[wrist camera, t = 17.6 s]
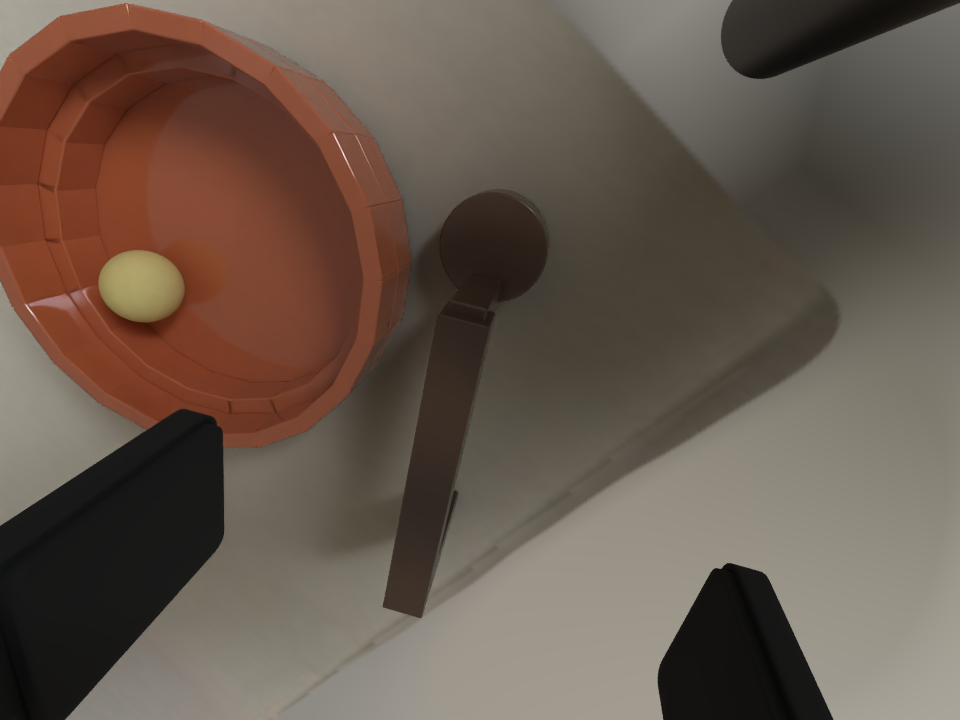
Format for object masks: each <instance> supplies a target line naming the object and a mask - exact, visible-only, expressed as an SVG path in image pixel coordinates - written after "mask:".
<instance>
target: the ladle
mask: <svg viewBox="0 0 960 720" xmlns="http://www.w3.org/2000/svg"><path fill="white" fill-rule="evenodd" d="M548 245H549V236H548V230H547V226H546V223H545V220H544V218H543V216H542V214H541V213H540V211H539V210H538V208H537V207H536V206H535V205H534V204H533V203H532V202H531V201H530V200H529V199H527V198H526V197H524V196H522V195H520V194H518V193H516V192H513V191H509V190H498V189H496V190H489V191H485V192H482V193H479V194H477V195H474V196H472V197H469V198H468V199H466V200H464V201H463V202H462V203H460V204H459V205H458V206H457V207H456V208H455V209H454V210H453V211H452V212H451V214H450V215H449V216H448V218H447V220H446V222H445V224H444V226H443V229H442V232H441V236H440V257H441V261H442V265H443V267H444V269H445V272H446V273H447V275H448V277H449V278H450V280H451V281H452V282H453V284H454V285H455V286H456V287H457V288H458V289H459V290H458V291H457V293H456V294H455V295H454V296H453V298H452V299H451V300H450V301H449V302H448V303H447V304H446V305H445V307H444V308H443V309H442V310H441V312H440V313H439V314H438V317H437V322H436V327H435V333H434V338H433V343H432V348H431V354H430V359H429V364H428V370H427V375H426V380H425V385H424V391H423V396H422V401H421V407H420V412H419V417H418V423H417V428H416V433H415V438H414V444H413V449H412V454H411V460H410V465H409V470H408V475H407V481H406V486H405V491H404V497H403V502H402V507H401V513H400V518H399V523H398V528H397V534H396V539H395V544H394V550H393V555H392V560H391V565H390V571H389V576H388V581H387V587H386V592H385V597H384V603H383V607H384V608H387V609H390V610H394V611H397V612H401V613H404V614H408V615H411V616H415V617H418V618H421V617H422V615H423V612H424V608H425V605H426V602H427V598H428V595H429V592H430V588H431V586H432V582H433V579H434V576H435V572H436V569H437V566H438V563H439V559H440V556H441V553H442V549H443V546H444V543H445V539H446V536H447V533H448V529H449V526H450V523H451V519H452V516H453V512H454V508H455V504H456V500H457V496H458V492H457V491H454V488H455V484H456V479H457V475H458V471H459V467H460V463H461V458H462V454H463V450H464V446H465V442H466V437H467V433H468V429H469V425H470V421H471V416H472V412H473V408H474V404H475V399H476V395H477V391H478V387H479V383H480V378H481V374H482V370H483V366H484V362H485V357H486V353H487V349H488V345H489V341H490V336H491V332H492V328H493V324H494V320H495V315H496V313H495V312H494V310H495V308H496V306H497V304H498V302H504V301H509V300H511V299H514V298H517V297H519V296H521V295H522V294H524V293H525V292H527V291H528V290H529V289H530V288H531V287H532V286H533V285H534V284H535V283H536V282H537V280H538V279H539V277H540V276H541V274H542V271H543V269H544V267H545V264H546V259H547V254H548Z"/></svg>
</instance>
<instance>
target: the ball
mask: <svg viewBox="0 0 960 720" xmlns="http://www.w3.org/2000/svg"><path fill="white" fill-rule="evenodd" d="M98 285H99V291H100V294H101V297H102V299H103V300H104V302H105V304H106V305H107V306H108V307H109V308H110V309H111V310H112V311H113V312H115V313H116V314H118V315H119V316H121V317H123V318H126V319H128V320H131V321H136V322H154V321H159V320H162V319H164V318H166V317H168V316H170V315H171V314H173V313H174V312H175V311H176V310H177V309H178V307H179V306H180V305H181V303H182V301H183V298H184V294H185V285H184V280H183V277H182V275H181V273H180V272H179V270H178V269H177V267H176V266H175V265H174V264H173V263H172V262H171V261H169V260H168V259H167V258H165V257H163V256H161V255H159V254H156V253H154V252H150V251H144V250H132V251H127V252H123V253H120V254H118V255H116V256H114V257H113V258H111V259H110V260H109V261H108V262H107V263H106V264H105V265H104V267H103V268H102V270H101V272H100V275H99V281H98Z"/></svg>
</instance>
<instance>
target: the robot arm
mask: <svg viewBox="0 0 960 720" xmlns="http://www.w3.org/2000/svg"><path fill="white" fill-rule="evenodd" d="M223 535H224V473H223V430H222V428H221V427H219V426H217V421H216V420H215V418H214V417H212V416H209V415H206V414H202V413H199V412H195V411H192V410H188V409H179V410H177V411H175V412H174V413H172V414H171V415H169V416H168V417H166V418H165V419H163V420H161V421H160V422H158V423H157V424H155V425H154V426H152V427H151V428H149V429H148V430H146V431H145V432H143V433H142V434H140V435H139V436H137V437H135V438H134V439H132V440H131V441H129V442H128V443H126V444H125V445H123V446H122V447H120V448H119V449H117V450H116V451H114V452H113V453H111V454H110V455H108V456H106V457H105V458H103V459H102V460H100V461H99V462H97V463H96V464H94V465H93V466H91V467H90V468H88V469H87V470H85V471H84V472H82V473H80V474H79V475H77V476H76V477H74V478H73V479H71V480H70V481H68V482H67V483H65V484H64V485H62V486H61V487H59V488H58V489H56V490H54V491H53V492H51V493H50V494H48V495H47V496H45V497H44V498H42V499H41V500H39V501H38V502H36V503H35V504H33V505H32V506H30V507H28V508H27V509H25V510H24V511H22V512H21V513H19V514H18V515H16V516H15V517H13V518H12V519H10V520H9V521H7V522H6V523H4V524H3V525H1V526H0V720H65V719H66V718H67V717H68V716H69V715H70V714H71V713H72V711H73V710H74V709H75V708H76V707H77V706H78V705H79V704H80V702H81V701H82V700H83V699H84V698H85V697H86V696H87V695H88V694H89V692H90V691H91V690H92V689H93V688H94V687H95V686H96V685H97V683H98V682H99V681H100V680H101V679H102V678H103V677H104V676H105V674H106V673H107V672H108V671H109V670H110V669H111V668H112V667H113V665H114V664H115V663H116V662H117V661H118V660H119V659H120V658H121V657H122V655H123V654H124V653H125V652H126V651H127V650H128V649H129V648H130V646H131V645H132V644H133V643H134V642H135V641H136V640H137V639H138V637H139V636H140V635H141V634H142V633H143V632H144V631H145V630H146V629H147V627H148V626H149V625H150V624H151V623H152V622H153V621H154V620H155V618H156V617H157V616H158V615H159V614H160V613H161V612H162V611H163V609H164V608H165V607H166V606H167V605H168V604H169V603H170V602H171V601H172V599H173V598H174V597H175V596H176V595H177V594H178V593H179V592H180V590H181V589H182V588H183V587H184V586H185V585H186V584H187V583H188V581H189V580H190V579H191V578H192V577H193V576H194V575H195V574H196V573H197V571H198V570H199V569H200V568H201V567H202V566H203V565H204V564H205V562H206V561H207V560H208V559H209V558H210V557H211V556H212V555H213V553H214V552H215V551H216V550H217V548H218V547H219V545H220V543H221V541H222V539H223ZM658 689H659V695H660V701H661V707H662V714H663V720H833V718H832V716H831V713H830V711H829V709H828V707H827V705H826V702H825V700H824V698H823V696H822V694H821V692H820V689H819V687H818V686H817V683H816V681H815V678H814V676H813V674H812V672H811V670H810V668H809V666H808V663H807V661H806V659H805V657H804V655H803V652H802V650H801V648H800V646H799V644H798V642H797V640H796V637H795V635H794V633H793V631H792V629H791V627H790V624H789V622H788V620H787V618H786V616H785V613H784V611H783V609H782V607H781V605H780V603H779V601H778V599H777V596H776V594H775V592H774V590H773V587H772V585H771V583H770V581H769V579H768V578H767V576H766V575H765V574H764V573H763V572H760V571H756V570H753V569H750V568H746V567H742V566H738V565H735V564H732V563H727V564H726V565H724V566H723V568H722V569H718V568H715V569H713V570H712V572H711V573H710V575H709V577H708V579H707V580H706V582H705V584H704V586H703V587H702V589H701V591H700V593H699V595H698V596H697V598H696V600H695V602H694V604H693V606H692V607H691V609H690V611H689V613H688V615H687V616H686V618H685V620H684V622H683V624H682V625H681V627H680V629H679V631H678V633H677V634H676V636H675V638H674V640H673V642H672V643H671V645H670V647H669V649H668V651H667V652H666V654H665V656H664V658H663V660H662V662H661V664H660V667H659V671H658Z"/></svg>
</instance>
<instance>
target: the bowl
mask: <svg viewBox="0 0 960 720" xmlns="http://www.w3.org/2000/svg"><path fill="white" fill-rule="evenodd" d="M132 250H144V251H150V252H154V253H156V254H159V255H161V256H163V257H165V258H167V259H168V260H169V261H171V262H172V263H173V264H174V265H175V266H176V267H177V269H178V270H179V272H180V273H181V275H182V277H183V280H184V285H185V294H184V298H183V301H182V303H181V305H180V306H179V307H178V309H177V310H176V311H175V312H174V313H173V314H171V315H170V316H168V317H166V318H164V319H162V320H159V321H154V322H136V321H131V320H128V319H126V318H123V317H121V316H119V315H118V314H116V313H115V312H113V311H112V310H111V309H110V308H109V307H108V306H107V305H106V304H105V302H104V300H103V299H102V297H101V294H100V291H99V285H98V281H99V275H100V272H101V270H102V268H103V267H104V265H105V264H106V263H107V262H108V261H109V260H110V259H111V258H113V257H114V256H116V255H118V254H120V253H123V252H127V251H132ZM411 261H412V260H411V253H410V246H409V240H408V233H407V226H406V220H405V213H404V206H403V201H402V197H401V195H400V193H399V191H398V188H397V186H396V184H395V182H394V180H393V178H392V175H391V173H390V171H389V169H388V167H387V165H386V162H385V160H384V158H383V156H382V154H381V152H380V149H379V147H378V145H377V143H376V141H375V139H374V137H373V136H372V135H371V133H370V132H369V131H368V130H367V129H366V128H365V126H364V125H363V124H362V123H361V122H360V121H359V119H358V118H357V117H356V116H355V115H354V114H353V112H352V111H351V110H350V109H349V108H348V107H347V106H346V104H345V103H344V102H343V101H342V100H341V99H340V97H339V96H338V95H337V94H336V93H335V92H334V90H333V89H332V88H331V87H330V86H329V85H328V84H327V83H326V82H325V81H323V80H322V79H320V78H318V77H317V76H315V75H314V74H312V73H310V72H309V71H307V70H306V69H304V68H303V67H301V66H299V65H298V64H296V63H295V62H293V61H291V60H290V59H288V58H287V57H285V56H283V55H282V54H280V53H279V52H277V51H275V50H274V49H272V48H271V47H269V46H266V45H264V44H261V43H259V42H256V41H254V40H251V39H249V38H246V37H244V36H241V35H238V34H236V33H234V32H231V31H229V30H226V29H224V28H221V27H219V26H216V25H214V24H211V23H209V22H206V21H204V20H201V19H196V18H192V17H187V16H183V15H178V14H174V13H169V12H165V11H160V10H156V9H152V8H147V7H143V6H138V5H134V4H127V3H125V4H120V5H114V6H109V7H104V8H99V9H94V10H89V11H83V12H78V13H73V14H68V15H63V16H60V17H57V18H56V19H55V20H54V21H52V22H51V23H50V24H48V25H47V26H46V27H44V28H43V29H42V30H41V31H39V32H38V33H37V34H35V35H34V36H33V37H31V38H30V39H29V40H28V41H26V42H25V43H24V44H22V45H21V46H20V47H18V48H17V49H16V50H15V51H13V52H12V53H11V54H9V57H7V59H6V61H5V63H4V65H3V67H2V69H1V71H0V281H1V283H2V286H3V288H4V290H5V292H6V294H7V297H8V299H9V301H10V303H11V306H12V307H14V310H15V312H16V313H17V315H18V316H19V317H20V319H21V320H22V321H23V323H24V324H25V325H26V327H27V328H28V329H29V331H30V332H31V333H32V335H33V336H34V337H35V339H36V340H37V342H38V343H39V344H40V346H41V347H42V348H43V350H44V351H45V352H46V354H47V355H48V356H49V358H50V359H51V360H52V361H53V363H54V364H55V365H56V366H58V367H59V368H60V369H61V370H62V371H63V372H64V373H65V374H67V375H68V376H69V377H70V378H71V379H72V380H73V381H74V382H76V383H77V384H78V385H79V386H80V387H81V388H82V389H83V390H85V391H86V392H87V393H88V394H89V395H90V396H91V397H93V398H94V399H95V400H96V401H97V402H98V403H101V404H102V405H103V406H105V407H107V408H108V409H110V410H112V411H114V412H116V413H117V414H119V415H121V416H123V417H124V418H126V419H128V420H130V421H132V422H133V423H135V424H137V425H139V426H141V427H142V428H144V429H146V430H148V429H149V428H151V427H152V426H154V425H155V424H157V423H158V422H160V421H161V420H163V419H165V418H166V417H168V416H169V415H171V414H172V413H174V412H175V411H177V410H179V409H188V410H192V411H195V412H199V413H202V414H206V415H209V416H212V417H214V418H215V420H216V421H217V426H219V427H221V428H222V430H223V448H258V447H263V446H266V445H269V444H272V443H274V442H277V441H280V440H283V439H286V438H288V437H291V436H294V435H297V434H300V433H303V432H305V431H307V430H308V429H310V428H312V427H313V426H314V425H315V424H316V423H317V422H319V421H320V420H321V419H322V418H323V417H324V416H326V415H327V414H328V413H329V412H330V411H331V410H333V409H334V408H335V407H336V406H337V405H338V404H339V403H341V402H342V401H343V400H344V399H345V398H346V397H347V396H348V395H349V394H350V393H351V392H352V391H353V390H354V389H355V388H356V386H357V385H358V384H359V383H360V382H361V381H362V380H363V379H364V378H365V377H366V376H367V374H368V373H369V372H370V371H371V370H372V369H373V368H374V367H375V366H376V364H377V363H378V362H379V361H380V359H381V357H382V355H383V354H384V352H385V350H386V348H387V346H388V344H389V342H390V341H391V339H392V337H393V335H394V333H395V331H396V329H397V328H398V326H399V324H400V322H401V320H402V317H403V314H404V307H405V301H406V295H407V288H408V282H409V276H410V269H411Z"/></svg>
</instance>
